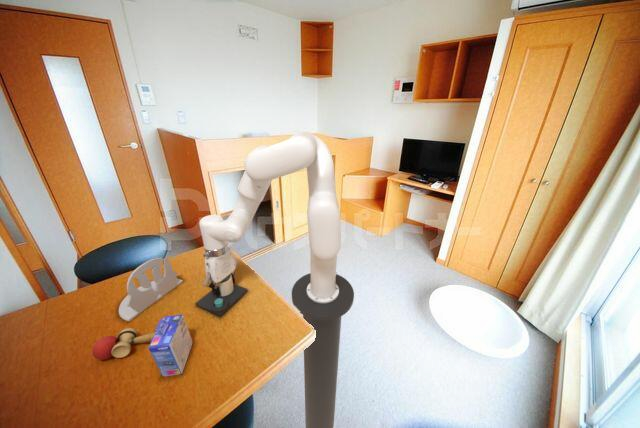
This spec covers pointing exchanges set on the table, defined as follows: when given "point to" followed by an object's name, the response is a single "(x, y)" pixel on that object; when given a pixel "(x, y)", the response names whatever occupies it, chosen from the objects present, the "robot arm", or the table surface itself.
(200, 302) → the scale
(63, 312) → the table surface
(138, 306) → the ornament
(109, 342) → the kendama
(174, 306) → the table surface
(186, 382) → the table surface
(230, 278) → the beige cup
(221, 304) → the button
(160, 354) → the ink cartridge box
